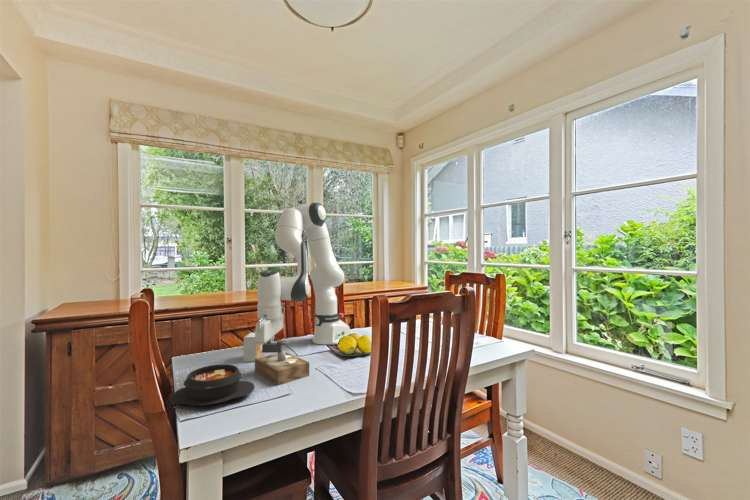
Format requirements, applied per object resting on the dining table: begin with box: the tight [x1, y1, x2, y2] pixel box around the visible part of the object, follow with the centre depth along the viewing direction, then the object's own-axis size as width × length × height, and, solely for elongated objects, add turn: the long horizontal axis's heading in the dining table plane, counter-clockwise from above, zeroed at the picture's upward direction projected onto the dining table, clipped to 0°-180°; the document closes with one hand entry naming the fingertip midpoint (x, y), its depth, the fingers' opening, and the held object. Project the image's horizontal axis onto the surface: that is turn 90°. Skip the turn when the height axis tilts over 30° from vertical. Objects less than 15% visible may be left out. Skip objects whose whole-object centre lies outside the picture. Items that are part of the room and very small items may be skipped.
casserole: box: [168, 364, 255, 407], centre depth 112 cm, size 25×19×8 cm
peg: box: [262, 339, 299, 361], centre depth 132 cm, size 13×4×7 cm, turn 92°
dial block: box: [254, 351, 310, 386], centre depth 132 cm, size 13×18×5 cm
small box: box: [243, 332, 264, 362], centre depth 149 cm, size 8×6×10 cm
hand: (270, 347), depth 134 cm, fingers closed, pressing on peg
